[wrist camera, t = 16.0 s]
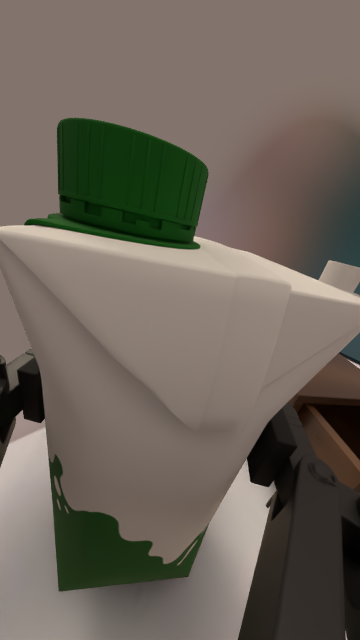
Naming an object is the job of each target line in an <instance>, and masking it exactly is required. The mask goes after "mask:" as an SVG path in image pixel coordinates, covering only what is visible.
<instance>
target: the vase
mask: <svg viewBox="0 0 360 640" xmlns="http://www.w3.org/2000/svg"><path fill="white" fill-rule="evenodd" d="M319 281H320V282H323V283H325V284H328V285H330V286H333V287H335V288H337V289H340V290H342V291H345V292H347V293H349V294H352V295H354V296H357V297H359V298H360V295H358V294H355V293H353V292H354V290H355V289H356V287H357V285H358V284H359V282H360V268H358V267H354V266H350V265H347V264H343V263H339V262H335V261H330V260H329V261H328V263H327V265H326V267H325V269H324V271H323V273H322V275H321V277H320V279H319Z"/></svg>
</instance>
